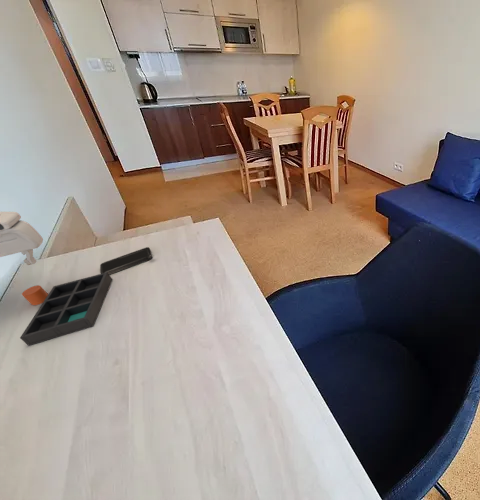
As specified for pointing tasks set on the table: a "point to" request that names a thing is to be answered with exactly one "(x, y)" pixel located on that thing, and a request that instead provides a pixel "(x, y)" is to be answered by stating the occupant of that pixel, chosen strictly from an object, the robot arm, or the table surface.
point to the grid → (68, 309)
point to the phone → (126, 261)
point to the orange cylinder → (35, 295)
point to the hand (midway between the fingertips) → (12, 268)
